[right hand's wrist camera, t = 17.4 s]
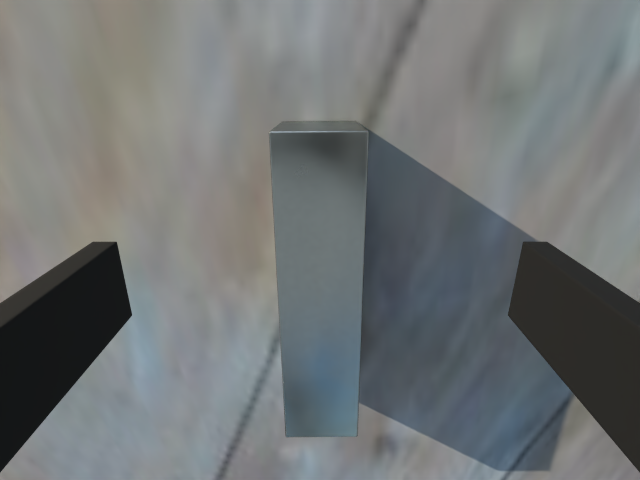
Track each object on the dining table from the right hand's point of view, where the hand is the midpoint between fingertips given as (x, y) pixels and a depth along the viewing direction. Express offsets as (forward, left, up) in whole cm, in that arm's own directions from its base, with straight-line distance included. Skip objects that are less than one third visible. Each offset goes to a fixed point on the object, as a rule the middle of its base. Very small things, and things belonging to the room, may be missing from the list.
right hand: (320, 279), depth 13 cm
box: (+1, +9, -22) cm, 24 cm away
